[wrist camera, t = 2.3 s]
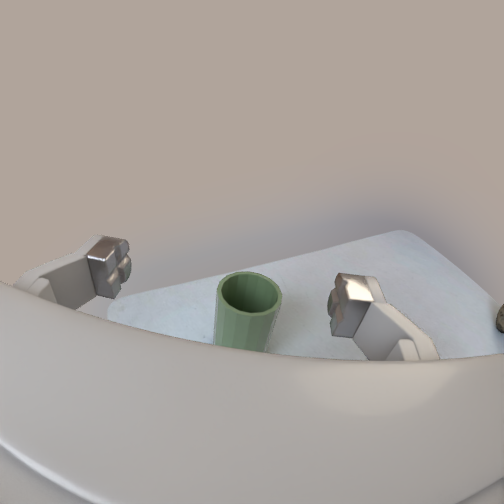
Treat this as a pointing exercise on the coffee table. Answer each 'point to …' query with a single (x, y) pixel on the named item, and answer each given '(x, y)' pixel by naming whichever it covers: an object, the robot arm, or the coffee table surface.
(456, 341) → the coffee table surface
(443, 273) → the coffee table surface
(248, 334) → the cup
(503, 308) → the decorative egg
